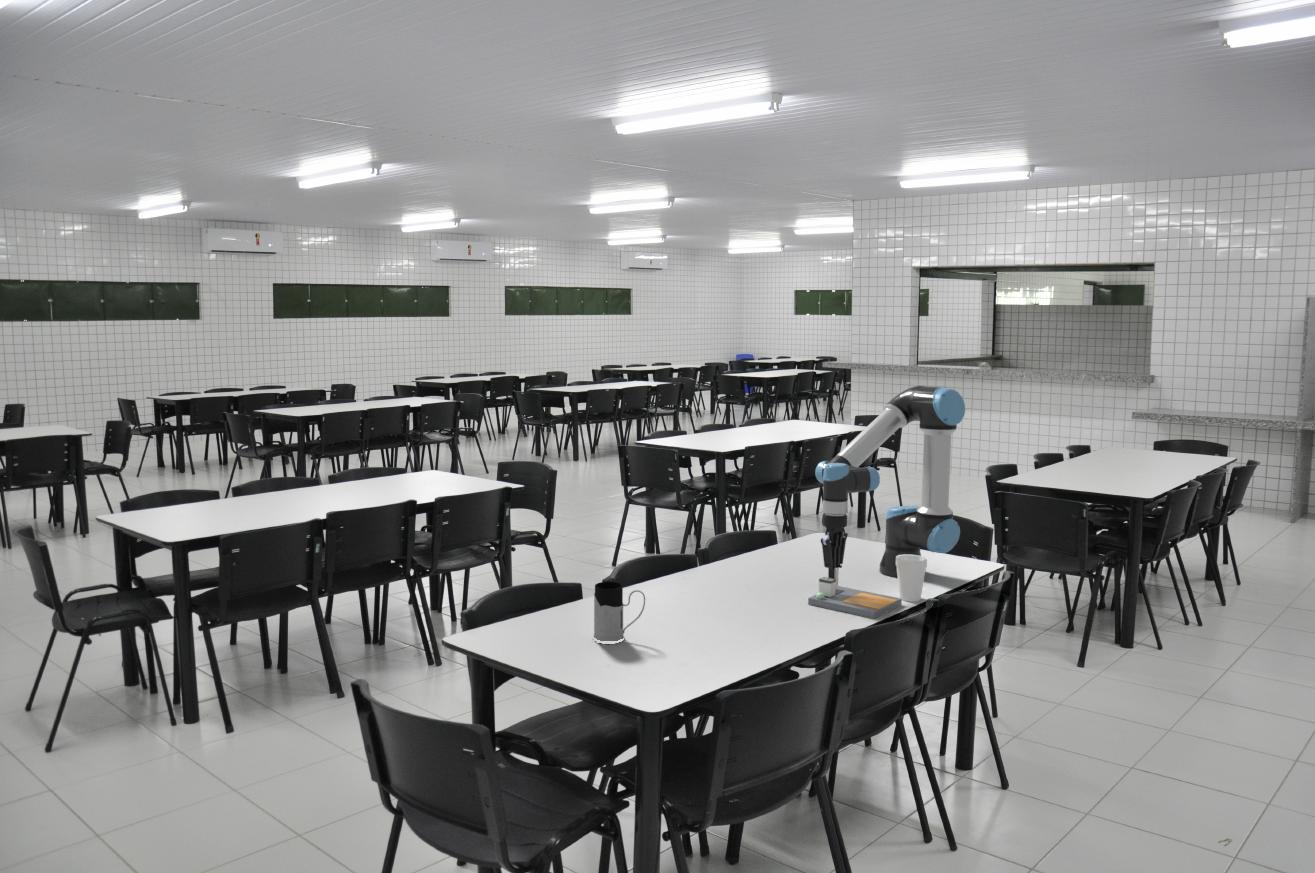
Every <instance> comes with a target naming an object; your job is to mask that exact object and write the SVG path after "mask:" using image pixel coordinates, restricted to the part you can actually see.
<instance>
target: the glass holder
mask: <svg viewBox="0 0 1315 873" xmlns="http://www.w3.org/2000/svg"><path fill="white" fill-rule="evenodd" d="M623 589H624V587H623V583H621V582H617V581H601V582H598V583H596V584H594V593H593V596H594V597H593V598H594V599H593V603H594V604H593V613H594V614H593V618H594V619H593V623H594V624H593V625H594V626H593V627H594V628H593V631H594V632H593V633H594V634H593V637H594V638H596V639H597V640H600V641H618V640H620V639H623V638H625V635H624V634H625V631H626V630H627V628H629V627H630V626H631V625H633V624H634V623H635V622H636V621H637V620H638V619H639V618H640V617H641V616H642V614H643V612H644V610H645V605H646V597H645V594H644V592H643V591H641V590H639V589H635V590H632V591H631V592H630V593H629V594H628V595H629V596H628V603H626V604H624V603H623V601H624V600H623V596H624V595H623V594H624V593H623ZM636 592H637V593H640V594H642V596H643V605H642V609H641V611H640V613H639V614H638V616H636V617H635V619H633V621H630V623H628V624H627V625H626V626H625V627H624V607H627V606H629V605H630V603H631V596H632V595H633V594H634V593H636Z"/></svg>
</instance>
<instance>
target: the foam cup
mask: <svg viewBox="0 0 1315 873" xmlns="http://www.w3.org/2000/svg"><path fill="white" fill-rule="evenodd" d="M896 566H897V577H896V578H897V584H898V586H897V587H898V598H901V599H902V601H904V602H910V603H911V602H912V603H913V602H914V603H916V602H919V601H921V598H922V593H923V586H924V580H925V576H926V571H927V567H928V558H927V557H926V556H923V555H921V556H919V555H898V556H896Z"/></svg>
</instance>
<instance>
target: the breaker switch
mask: <svg viewBox="0 0 1315 873" xmlns="http://www.w3.org/2000/svg"><path fill="white" fill-rule="evenodd" d="M835 586H836V579H832V578H828V576H823V577H820V578H819V579H818V593H824V596H827V597H832V596H834V595H835Z"/></svg>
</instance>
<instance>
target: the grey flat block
mask: <svg viewBox="0 0 1315 873" xmlns="http://www.w3.org/2000/svg"><path fill="white" fill-rule="evenodd" d="M902 601H903V600H902V599H901V598H900V597H895V596H890V595H886V594H885V595H884V594H879V593H876V592H872V591H871V592H870V591H865V590H860V589H855V588H851V587H844V586H840V585H838V589H836V590H835V595H834V596H832V597H827V596H824V593H819V592H816V594H815V595H812V596H809V597H808V600H807V602H808V603H807V605H810V606H814V607H818V606H819V608H824V609H827V608H828V610H832V611H836V610H837V612H841V611H842V612H841V613H845V612H846V613H845V614H850V613H851V615H855V614H856V615H855V616H859V615H860V616H861V617H865V618H868V619H869V618H870V619H873V620H874V619H876V618H878V617H880V616H882V615H884V614H886V613H889V612H890V611H892V610H894V609H896V608H898V607H901V606H902Z"/></svg>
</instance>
